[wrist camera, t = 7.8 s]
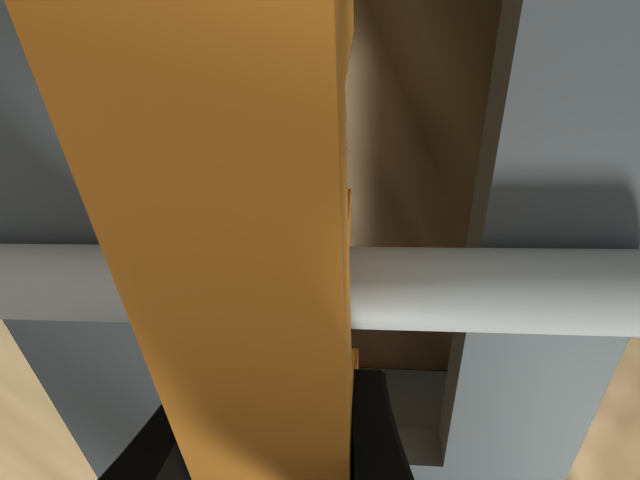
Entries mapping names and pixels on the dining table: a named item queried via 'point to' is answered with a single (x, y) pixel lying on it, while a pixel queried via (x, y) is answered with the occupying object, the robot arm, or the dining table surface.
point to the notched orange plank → (218, 211)
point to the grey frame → (396, 262)
